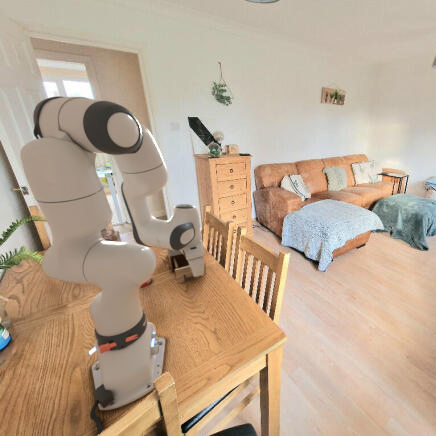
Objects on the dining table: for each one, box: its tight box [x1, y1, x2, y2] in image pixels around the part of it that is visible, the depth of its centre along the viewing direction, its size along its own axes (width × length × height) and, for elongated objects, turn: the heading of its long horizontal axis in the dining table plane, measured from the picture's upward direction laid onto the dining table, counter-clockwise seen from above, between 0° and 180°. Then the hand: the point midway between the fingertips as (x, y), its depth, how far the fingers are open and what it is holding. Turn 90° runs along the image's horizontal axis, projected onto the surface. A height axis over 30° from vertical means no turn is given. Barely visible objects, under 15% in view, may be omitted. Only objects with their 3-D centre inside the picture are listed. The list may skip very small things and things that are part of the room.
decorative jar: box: [101, 227, 122, 242], centre depth 113 cm, size 12×12×18 cm
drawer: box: [173, 255, 207, 284], centre depth 110 cm, size 20×12×7 cm, turn 32°
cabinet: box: [166, 249, 183, 273], centre depth 120 cm, size 17×14×9 cm
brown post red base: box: [140, 278, 152, 288], centre depth 102 cm, size 6×6×11 cm
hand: (195, 272), depth 98 cm, fingers closed
